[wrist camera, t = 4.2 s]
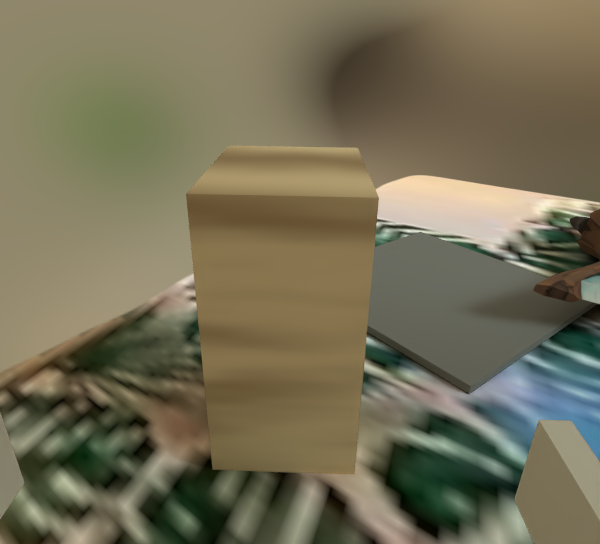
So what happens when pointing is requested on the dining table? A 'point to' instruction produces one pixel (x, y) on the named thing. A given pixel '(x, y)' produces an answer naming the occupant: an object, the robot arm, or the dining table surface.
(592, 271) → the decorative knife
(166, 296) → the dining table surface
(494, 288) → the charcoal mat
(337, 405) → the beech block
